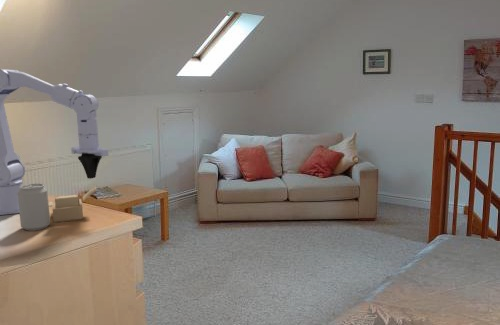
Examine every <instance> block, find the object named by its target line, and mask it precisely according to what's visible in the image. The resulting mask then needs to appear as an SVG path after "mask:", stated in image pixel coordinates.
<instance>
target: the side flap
mask: <svg viewBox="0 0 500 325" xmlns="http://www.w3.org/2000/svg"><path fill="white" fill-rule="evenodd" d="M96 191H97V187H96V185H93V186H92V187H91V188H90V189H89V190H88V191H87V192H86V193H85V194H84V195H83V196H82V201H83V202H84V201H86V200H87V199H88V198H89V197H90V196H91V195H92V194H93V193H95V192H96Z"/></svg>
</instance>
